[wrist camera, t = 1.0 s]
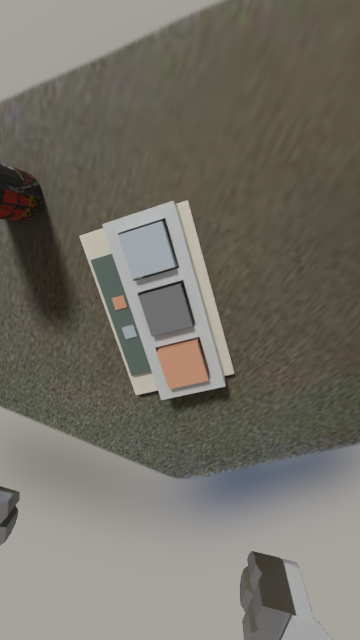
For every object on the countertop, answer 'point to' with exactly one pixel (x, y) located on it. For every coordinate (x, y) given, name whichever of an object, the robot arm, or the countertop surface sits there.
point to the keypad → (125, 291)
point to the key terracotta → (183, 363)
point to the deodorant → (18, 194)
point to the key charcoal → (166, 309)
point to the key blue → (148, 249)
